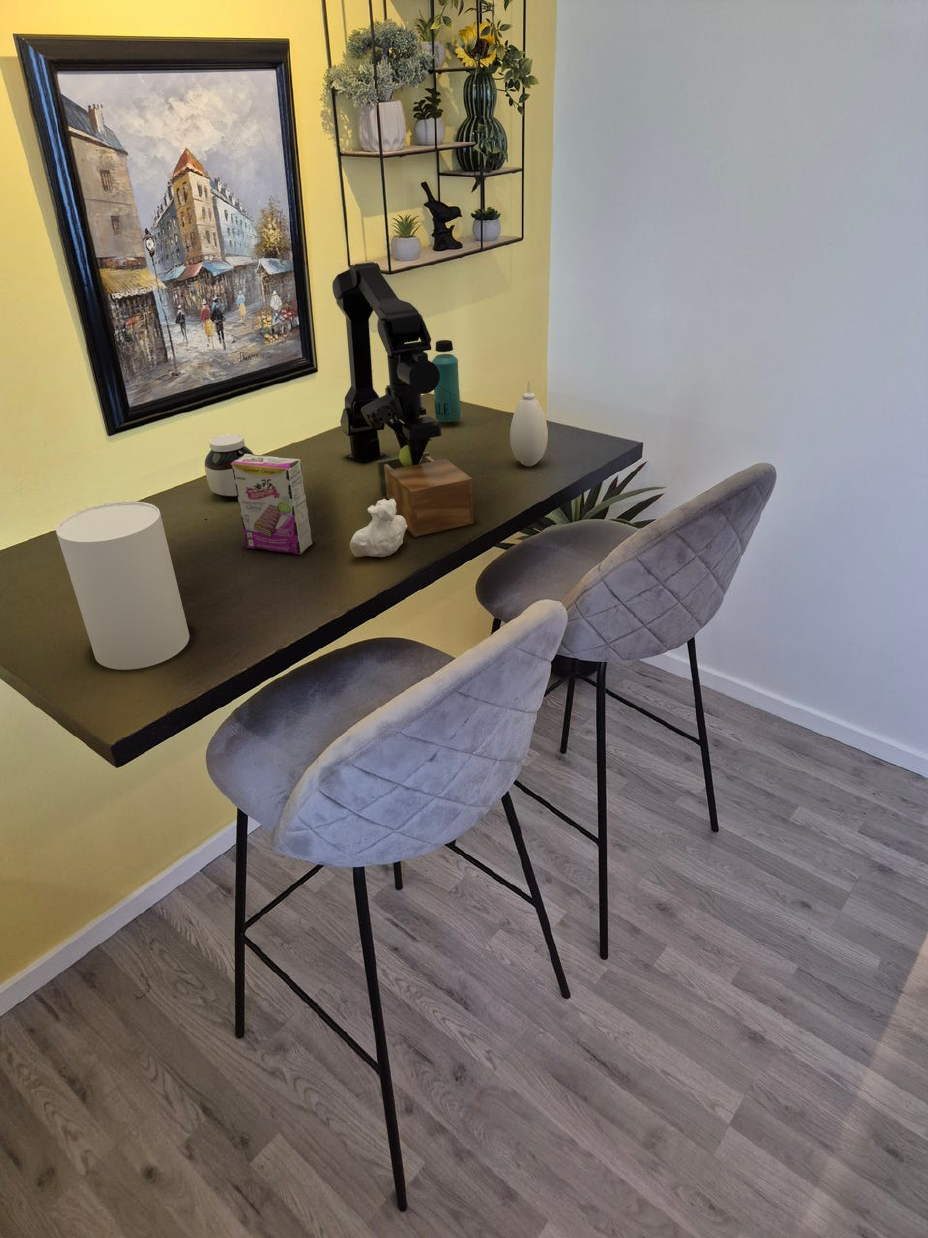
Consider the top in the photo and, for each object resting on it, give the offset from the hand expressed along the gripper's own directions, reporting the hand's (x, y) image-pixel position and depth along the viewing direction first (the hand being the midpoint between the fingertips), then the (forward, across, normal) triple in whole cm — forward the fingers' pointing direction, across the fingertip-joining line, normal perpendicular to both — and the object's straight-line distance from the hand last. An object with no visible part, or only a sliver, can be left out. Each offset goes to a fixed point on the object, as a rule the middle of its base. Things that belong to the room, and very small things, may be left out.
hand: (411, 461), depth 166 cm
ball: (-1, 0, 0) cm, 1 cm away
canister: (+9, +30, -55) cm, 63 cm away
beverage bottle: (+9, -42, +26) cm, 50 cm away
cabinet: (+8, +9, 0) cm, 12 cm away
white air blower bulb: (+9, -7, +29) cm, 31 cm away
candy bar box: (+9, +7, -29) cm, 31 cm away
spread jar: (+9, -25, -30) cm, 40 cm away
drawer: (+8, 0, 0) cm, 8 cm away
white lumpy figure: (+9, +18, -13) cm, 24 cm away
